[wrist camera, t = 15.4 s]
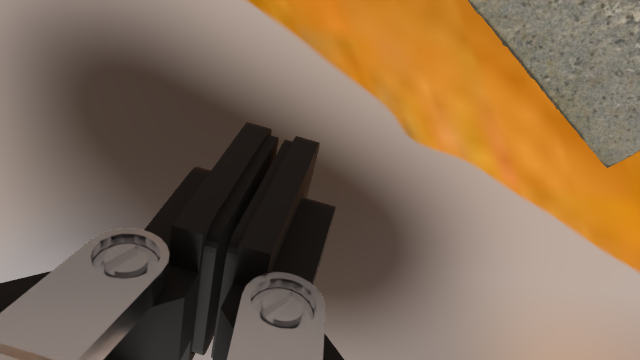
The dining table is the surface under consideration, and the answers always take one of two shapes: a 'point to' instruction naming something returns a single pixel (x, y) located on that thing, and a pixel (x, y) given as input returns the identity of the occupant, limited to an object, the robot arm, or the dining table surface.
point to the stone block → (579, 63)
